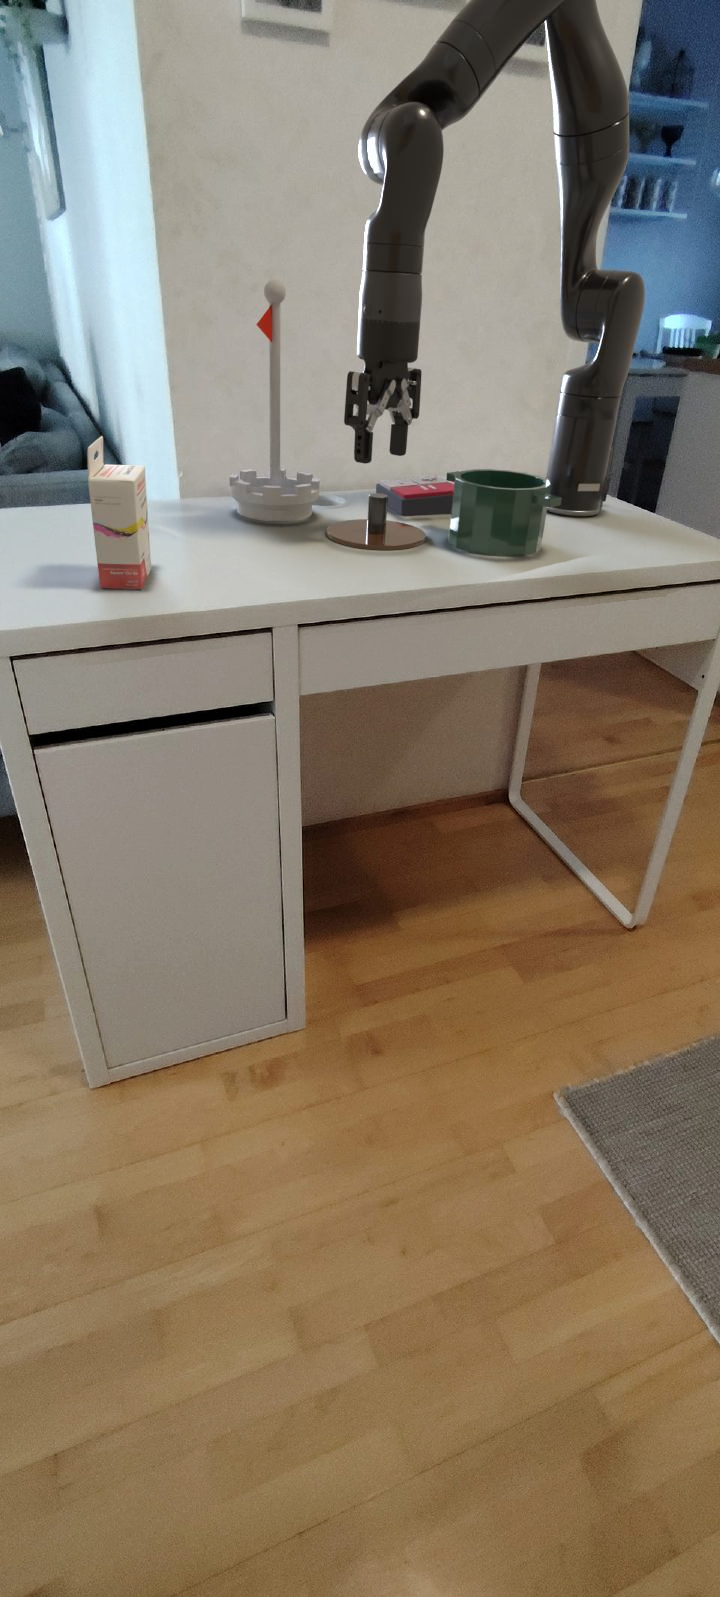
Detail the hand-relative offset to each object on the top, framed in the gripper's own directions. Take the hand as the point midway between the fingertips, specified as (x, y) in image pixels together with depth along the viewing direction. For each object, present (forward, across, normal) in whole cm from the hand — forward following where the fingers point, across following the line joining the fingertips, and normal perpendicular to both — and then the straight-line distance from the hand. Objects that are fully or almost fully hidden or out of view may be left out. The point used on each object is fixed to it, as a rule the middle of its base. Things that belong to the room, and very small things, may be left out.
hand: (380, 458), depth 110 cm
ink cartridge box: (+11, -34, +12) cm, 38 cm away
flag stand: (+11, +1, +18) cm, 22 cm away
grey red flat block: (+11, +22, +4) cm, 25 cm away
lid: (+10, 0, 0) cm, 10 cm away
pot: (+11, +9, -14) cm, 19 cm away
